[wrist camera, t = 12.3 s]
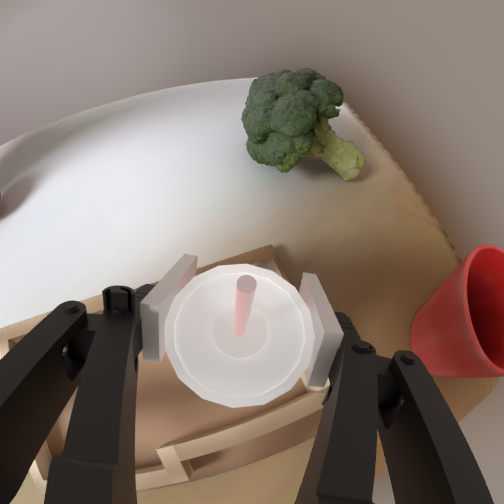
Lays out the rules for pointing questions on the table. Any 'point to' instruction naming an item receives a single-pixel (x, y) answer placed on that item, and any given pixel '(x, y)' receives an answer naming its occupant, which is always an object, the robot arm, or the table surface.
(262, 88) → the vegetable
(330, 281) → the table surface
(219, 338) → the beverage cup
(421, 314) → the flower pot
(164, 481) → the light brown wooden tray
